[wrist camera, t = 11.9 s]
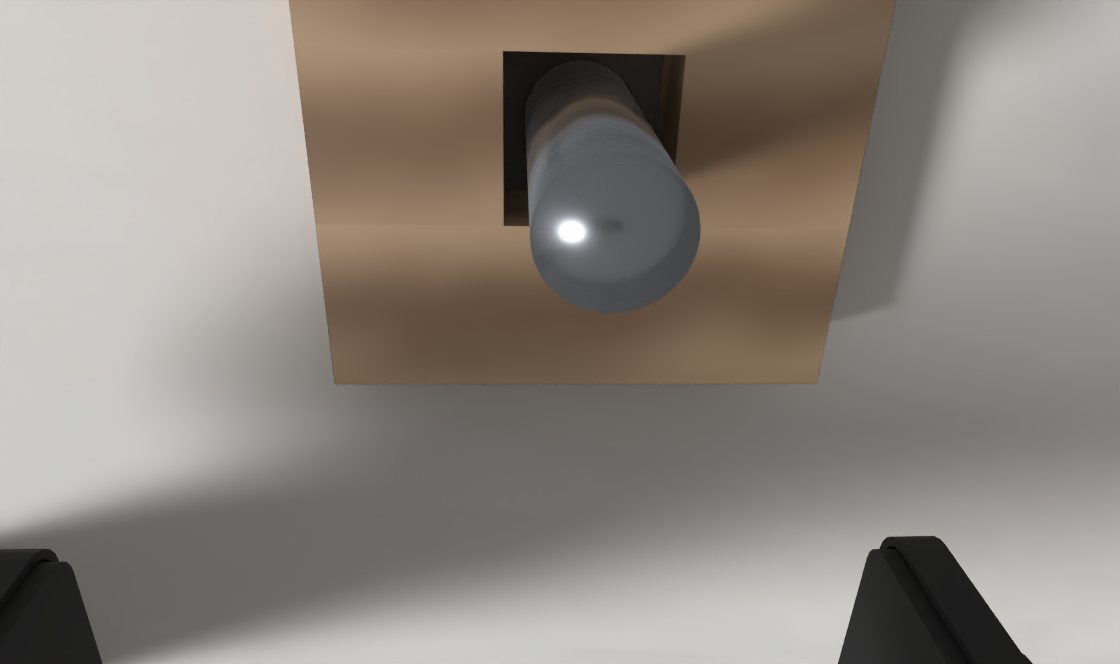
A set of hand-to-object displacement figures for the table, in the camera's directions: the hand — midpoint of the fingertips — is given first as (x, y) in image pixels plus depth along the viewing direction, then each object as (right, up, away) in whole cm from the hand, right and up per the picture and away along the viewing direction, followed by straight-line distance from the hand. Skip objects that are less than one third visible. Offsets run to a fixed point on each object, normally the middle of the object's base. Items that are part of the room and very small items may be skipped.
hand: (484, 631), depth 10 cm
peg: (+2, +11, +20) cm, 23 cm away
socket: (+2, +12, +20) cm, 23 cm away
